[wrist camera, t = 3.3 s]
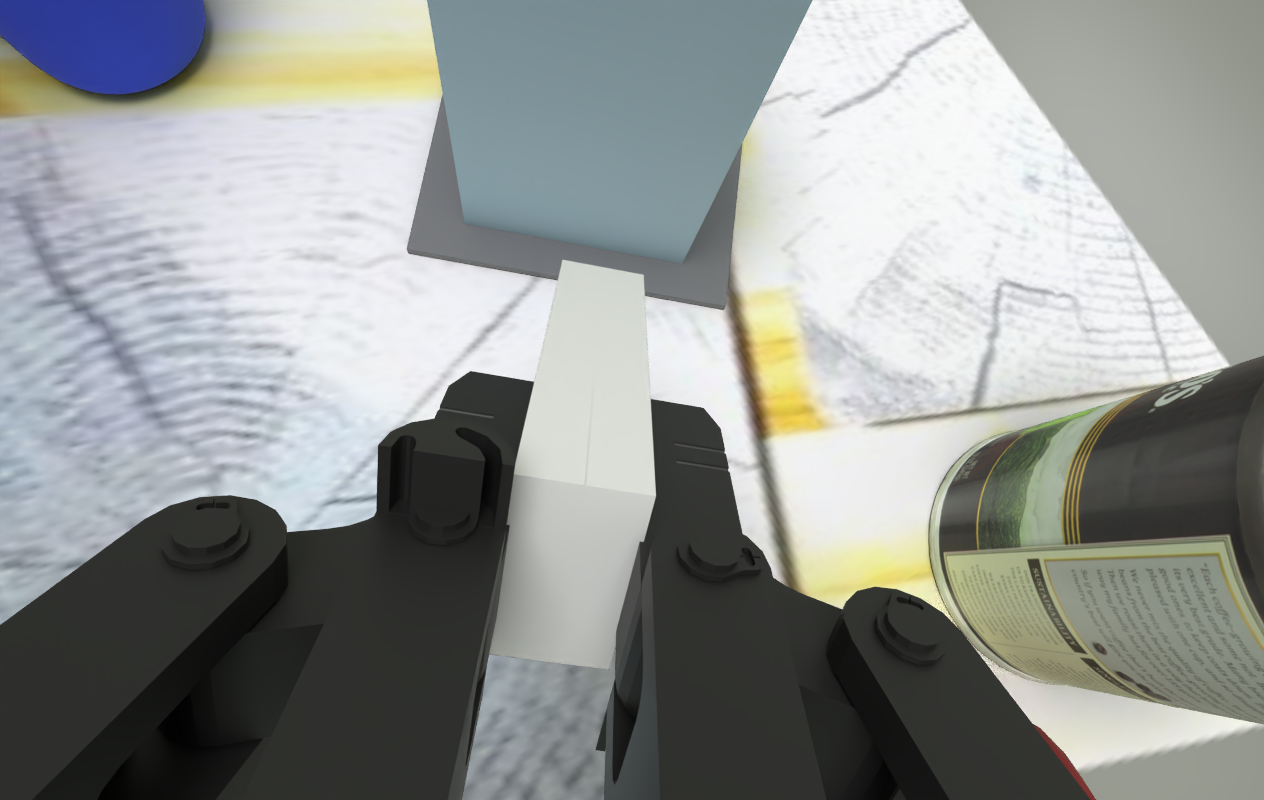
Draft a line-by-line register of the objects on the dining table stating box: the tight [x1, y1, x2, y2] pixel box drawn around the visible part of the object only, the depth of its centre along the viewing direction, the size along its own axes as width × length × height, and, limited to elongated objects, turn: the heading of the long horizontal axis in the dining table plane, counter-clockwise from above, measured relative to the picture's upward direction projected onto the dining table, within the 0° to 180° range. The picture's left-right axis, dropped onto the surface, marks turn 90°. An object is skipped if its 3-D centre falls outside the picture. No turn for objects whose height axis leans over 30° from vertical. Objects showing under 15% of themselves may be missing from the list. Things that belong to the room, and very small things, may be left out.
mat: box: [407, 95, 742, 309], centre depth 32 cm, size 24×13×1 cm, turn 172°
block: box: [427, 0, 812, 264], centre depth 23 cm, size 5×9×16 cm, turn 82°
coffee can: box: [929, 356, 1264, 724], centre depth 23 cm, size 10×10×14 cm
